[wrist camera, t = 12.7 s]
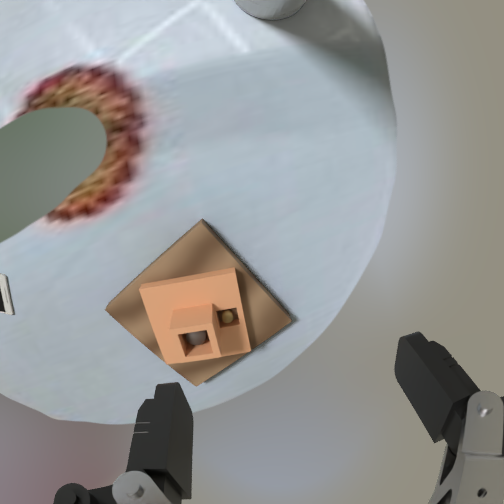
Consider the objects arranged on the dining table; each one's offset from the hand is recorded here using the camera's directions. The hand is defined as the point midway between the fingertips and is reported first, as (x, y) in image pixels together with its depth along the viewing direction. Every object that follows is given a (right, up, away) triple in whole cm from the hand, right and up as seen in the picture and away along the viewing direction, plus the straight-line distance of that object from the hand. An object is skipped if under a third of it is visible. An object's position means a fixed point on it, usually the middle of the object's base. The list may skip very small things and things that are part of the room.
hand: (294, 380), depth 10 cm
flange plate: (-9, -4, +30) cm, 32 cm away
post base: (-9, -3, +32) cm, 34 cm away
